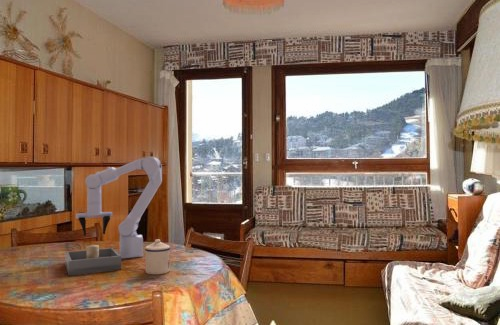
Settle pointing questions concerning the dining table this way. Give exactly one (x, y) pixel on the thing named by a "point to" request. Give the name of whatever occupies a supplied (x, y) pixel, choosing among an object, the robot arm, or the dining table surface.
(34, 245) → the dining table surface
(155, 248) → the teacup with lid
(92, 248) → the peg
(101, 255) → the box
